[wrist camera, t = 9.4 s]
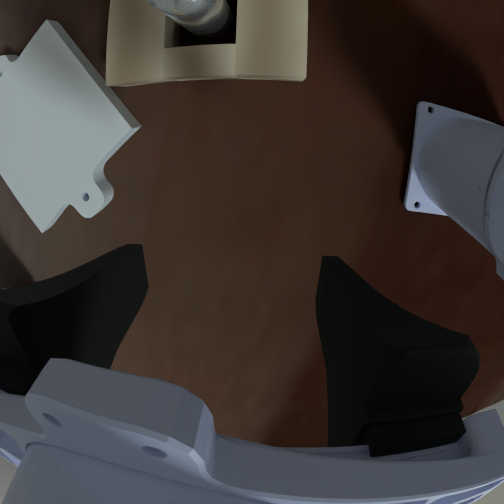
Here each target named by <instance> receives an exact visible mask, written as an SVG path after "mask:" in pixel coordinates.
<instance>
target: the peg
mask: <svg viewBox="0 0 504 504" xmlns="http://www.w3.org/2000/svg"><path fill="white" fill-rule="evenodd" d="M146 1H147V2H148V3H149V4H151V5H152V6H154V7H155V8H157V9H158V10H160V11H161V12H163V13H164V14H166V15H167V16H168V17H170V18H171V19H173V20H174V21H176V22H177V23H178V24H180V25H181V26H183V27H184V28H185V29H187V30H188V31H189V32H191V33H192V34H193V35H195V36H196V37H198V38H199V39H202V40H216V39H219V38H222V37H223V36H225V35H226V34H227V33H228V32H229V31H230V30H231V28H232V26H233V23H234V15H233V13H232V11H231V9H230V7H229V5H228V3H227V1H226V0H146Z"/></svg>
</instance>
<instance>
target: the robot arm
mask: <svg viewBox="0 0 504 504" xmlns="http://www.w3.org/2000/svg"><path fill="white" fill-rule="evenodd" d="M428 107H431V109H432V111H431V113H429V112H428ZM416 202H418V206H416V207H414V204H415V203H416ZM404 206H405V208H406V209H407V210H409V211H417V212H424V213H432V214H440V215H447V216H450V217H451V218H452V219H453V220H454V221H456V222H457V223H458V224H459V225H460V226H462V227H463V228H464V229H465V230H466V231H467V232H468V233H470V234H471V235H472V236H473V237H474V238H475V239H476V240H478V241H479V242H480V243H481V244H482V245H483V246H484V247H485V248H486V249H487V250H488V251H489V252H491V253H492V254H493V255H494V256H495V258H496V262H497V270H496V272H497V274H498V275H499V276H500V277H501V278H502V279H503V280H504V127H503V126H500V125H497V124H495V123H492V122H489V121H487V120H484V119H481V118H478V117H475V116H472V115H469V114H466V113H463V112H460V111H457V110H453V109H450V108H447V107H443V106H440V105H436V104H432V103H428V102H423V101H421V102H419V103H418V104H417V109H416V120H415V130H414V139H413V147H412V155H411V162H410V169H409V175H408V181H407V187H406V193H405V198H404ZM148 287H149V286H148V280H147V274H146V267H145V261H144V254H143V247H142V245H140V244H127V245H124V246H121V247H119V248H117V249H115V250H112V251H110V252H108V253H106V254H104V255H102V256H100V257H98V258H96V259H94V260H92V261H90V262H88V263H86V264H83V265H81V266H79V267H77V268H75V269H73V270H70V271H68V272H65V273H63V274H60V275H58V276H55V277H52V278H49V279H46V280H42V281H39V282H35V283H32V284H28V285H23V286H19V287H13V288H7V289H0V455H1V456H2V457H3V458H5V459H6V460H8V461H9V462H11V463H12V464H14V465H15V466H17V467H18V469H17V471H16V473H15V475H14V477H13V480H12V482H11V484H10V486H9V488H8V490H7V493H6V495H5V498H4V500H3V502H2V504H470V503H473V502H475V501H476V500H478V499H479V498H481V497H482V496H484V495H485V494H487V493H488V492H490V491H491V490H493V489H494V488H495V487H497V486H498V485H500V484H501V483H502V482H504V427H503V424H502V422H501V420H500V418H499V415H498V413H497V411H496V409H492V410H489V411H485V412H481V413H477V414H473V415H471V416H468V417H467V418H465V419H464V420H463V421H462V418H461V415H460V413H459V412H461V411H462V410H463V404H462V402H461V399H460V398H461V397H462V395H463V394H464V393H465V391H466V390H467V388H468V387H469V385H470V384H471V382H472V381H473V379H474V378H475V376H476V374H477V372H478V370H479V366H480V362H481V361H480V355H479V353H478V351H477V350H476V348H475V346H474V344H473V343H472V341H471V339H470V338H469V336H468V335H465V334H462V333H459V332H456V331H452V330H449V329H446V328H443V327H441V326H438V325H436V324H433V323H431V322H428V321H426V320H424V319H422V318H420V317H418V316H416V315H414V314H412V313H410V312H408V311H406V310H405V309H403V308H401V307H399V306H398V305H396V304H395V303H393V302H392V301H390V300H389V299H387V298H386V297H384V296H383V295H382V294H380V293H379V292H378V291H376V290H375V289H374V288H373V287H371V286H370V285H369V284H368V283H367V282H366V281H364V280H363V279H362V278H361V277H360V276H359V275H358V274H357V273H356V272H354V271H353V270H352V269H351V268H350V267H349V266H348V265H347V264H346V263H345V262H344V261H343V260H341V259H340V258H339V257H336V256H322V262H321V269H320V275H319V281H318V287H317V293H316V299H315V300H316V316H317V324H318V329H319V334H320V339H321V345H322V350H323V355H324V360H325V366H326V373H327V391H328V447H325V448H285V447H274V446H269V445H264V444H259V443H255V442H250V441H246V440H242V439H238V438H234V437H230V436H226V435H223V434H219V433H216V432H215V429H214V423H213V416H212V414H211V412H210V411H209V409H208V407H207V406H206V404H205V402H204V401H203V400H202V399H200V398H199V397H197V396H196V395H194V394H193V393H191V392H190V391H188V390H187V389H185V388H184V387H182V386H178V385H175V384H172V383H169V382H166V381H163V380H160V379H154V378H149V377H143V376H138V375H133V374H128V373H124V372H119V371H114V370H110V367H111V365H112V362H113V359H114V357H115V354H116V352H117V349H118V347H119V345H120V343H121V341H122V340H123V338H124V336H125V334H126V332H127V331H128V329H129V327H130V325H131V324H132V322H133V320H134V318H135V316H136V315H137V313H138V311H139V309H140V307H141V305H142V303H143V300H144V298H145V295H146V293H147V290H148Z"/></svg>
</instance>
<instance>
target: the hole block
mask: <svg viewBox="0 0 504 504" xmlns="http://www.w3.org/2000/svg"><path fill="white" fill-rule="evenodd" d="M307 33H308V0H238V3H237V27H236V44H212V45H195V46H183V47H179V40H180V24H178V23H177V22H176V21H174V20H173V19H171V18H170V17H168V16H167V15H166V14H164V13H163V12H161V11H160V10H158V9H157V8H155V7H154V6H152V5H151V4H149V3H148V2H147V1H146V0H110V9H109V20H108V33H107V52H106V86H134V85H141V84H150V83H160V82H171V81H185V80H205V79H265V80H285V81H299V82H302V81H303V80H304V79H305V78H306V66H307Z"/></svg>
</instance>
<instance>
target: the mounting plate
mask: <svg viewBox="0 0 504 504" xmlns="http://www.w3.org/2000/svg"><path fill="white" fill-rule="evenodd" d="M140 127H141V125H140V124H139V123H138V122H137V120H136V119H135V118H134V117H133V115H132V114H131V113H130V112H129V110H128V109H127V108H126V107H125V105H124V104H123V103H122V102H121V100H120V99H119V98H118V97H117V95H116V94H115V93H114V92H113V90H112V89H111V88H110V87H109V86H106V82H105V80H104V79H103V78H102V77H101V75H100V74H99V73H98V72H97V70H96V69H95V68H94V66H93V65H92V64H91V63H90V61H89V60H88V59H87V58H86V56H85V55H84V54H83V53H82V51H81V50H80V49H79V48H78V46H77V45H76V44H75V43H74V41H73V40H72V39H71V37H70V36H69V35H68V34H67V32H66V31H65V30H64V29H63V27H62V26H61V25H60V23H59V22H58V21H53V20H48V19H47V20H46V21H45V22H44V23H43V25H42V26H41V27H40V28H39V30H38V31H37V32H36V34H35V35H34V36H33V38H32V39H31V40H30V42H29V43H28V44H27V46H26V47H25V49H24V50H23V52H22V53H21V54H20V56H19V57H18V56H17V55H2V56H0V174H1V176H2V177H3V179H4V180H5V182H6V183H7V185H8V186H9V188H10V189H11V191H12V192H13V194H14V195H15V197H16V198H17V200H18V201H19V203H20V204H21V205H22V207H23V208H24V210H25V211H26V212H27V214H28V215H29V216H30V218H31V219H32V220H33V222H34V223H35V224H36V226H37V227H38V228H39V230H40V231H41V232H42V233H43V232H45V231H46V230H47V229H49V228H50V227H52V225H53V224H54V223H55V221H56V220H57V219H58V218H59V216H60V215H61V214H62V212H63V211H64V210H65V209H66V207H67V206H68V205H69V204H70V205H72V206H74V207H75V208H76V210H77V211H78V212H79V213H80V214H81V215H82V216H83V217H86V218H91V217H93V216H94V215H95V214H97V213H98V212H99V211H101V210H102V209H103V208H104V207H105V206H106V205H107V204H108V203H109V202H110V201H111V200H112V198H113V188H112V186H111V184H110V183H109V182H108V181H107V179H106V178H105V176H104V173H103V168H104V164H105V163H106V161H107V160H108V159H109V158H110V157H111V156H112V155H113V154H114V153H115V152H116V151H117V150H118V149H119V148H120V147H121V146H122V145H123V144H124V143H125V142H126V141H127V140H128V139H129V138H130V137H131V136H132V135H133V134H134V133H135V132H136V131H137V130H138V129H139V128H140Z"/></svg>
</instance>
